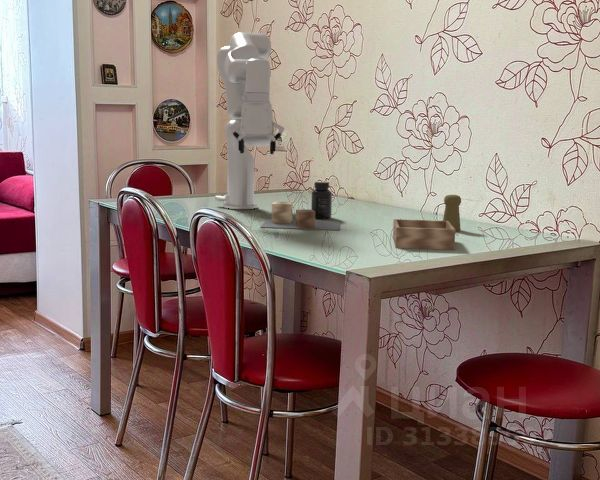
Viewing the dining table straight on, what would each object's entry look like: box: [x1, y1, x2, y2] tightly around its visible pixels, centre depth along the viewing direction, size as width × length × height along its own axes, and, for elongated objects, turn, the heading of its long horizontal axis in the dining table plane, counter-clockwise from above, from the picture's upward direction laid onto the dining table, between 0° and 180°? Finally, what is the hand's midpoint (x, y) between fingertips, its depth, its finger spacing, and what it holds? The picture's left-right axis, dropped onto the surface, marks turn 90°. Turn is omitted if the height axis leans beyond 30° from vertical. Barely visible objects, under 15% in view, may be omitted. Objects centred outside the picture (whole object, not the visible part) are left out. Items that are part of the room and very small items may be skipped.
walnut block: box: [295, 209, 316, 228], centre depth 238 cm, size 5×5×5 cm
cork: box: [442, 194, 462, 233], centre depth 240 cm, size 6×6×11 cm
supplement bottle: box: [310, 181, 333, 220], centre depth 259 cm, size 7×7×12 cm
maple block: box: [271, 200, 293, 223], centre depth 248 cm, size 6×6×6 cm
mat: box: [259, 218, 341, 231], centre depth 244 cm, size 24×16×1 cm, turn 86°
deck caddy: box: [392, 218, 456, 251], centre depth 216 cm, size 16×16×6 cm
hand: (257, 153), depth 248 cm, fingers open, 9 cm apart
